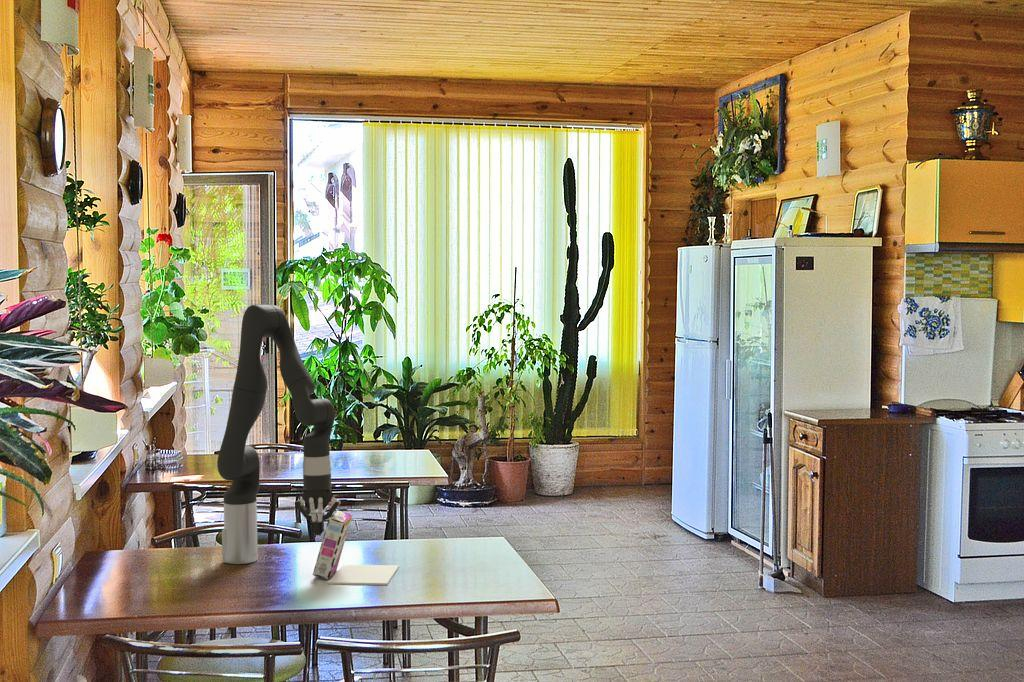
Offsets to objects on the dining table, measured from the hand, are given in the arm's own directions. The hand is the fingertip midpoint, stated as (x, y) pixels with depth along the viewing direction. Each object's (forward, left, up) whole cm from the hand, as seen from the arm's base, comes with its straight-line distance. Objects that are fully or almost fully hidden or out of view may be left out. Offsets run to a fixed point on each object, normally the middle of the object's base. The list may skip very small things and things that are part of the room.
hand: (318, 534), depth 296 cm
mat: (+13, 0, -11) cm, 17 cm away
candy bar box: (+2, 0, -11) cm, 11 cm away
